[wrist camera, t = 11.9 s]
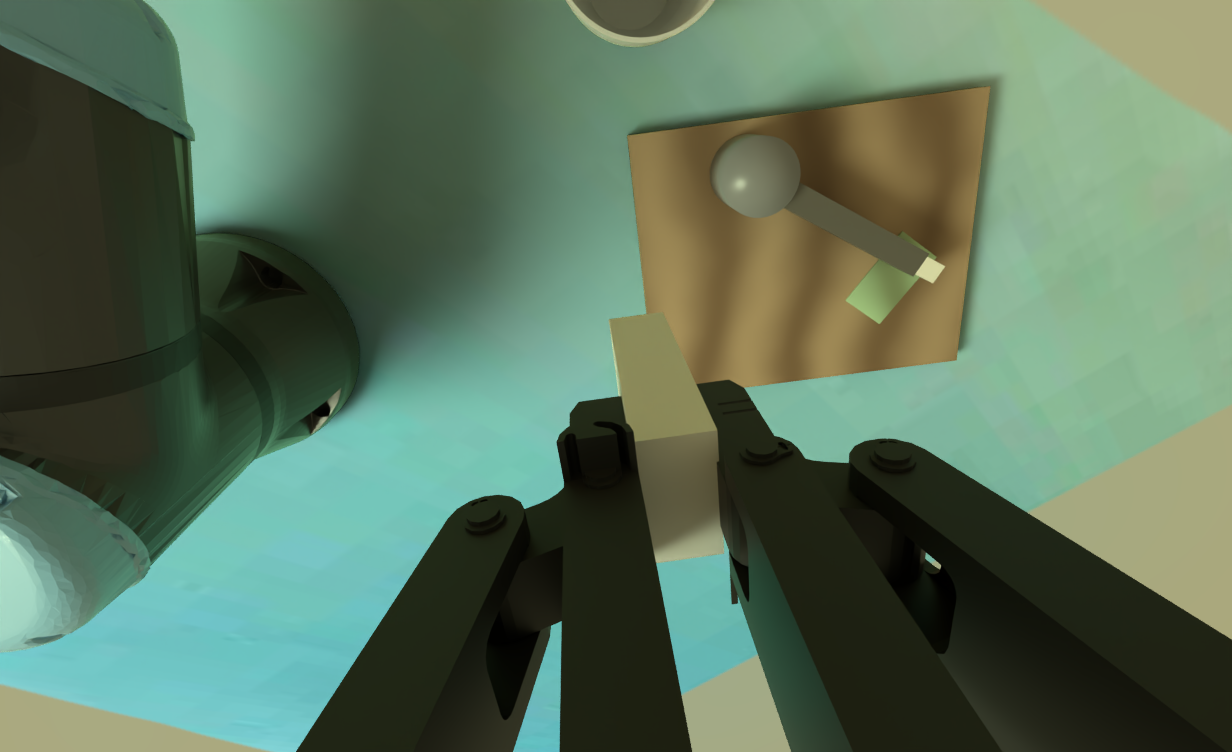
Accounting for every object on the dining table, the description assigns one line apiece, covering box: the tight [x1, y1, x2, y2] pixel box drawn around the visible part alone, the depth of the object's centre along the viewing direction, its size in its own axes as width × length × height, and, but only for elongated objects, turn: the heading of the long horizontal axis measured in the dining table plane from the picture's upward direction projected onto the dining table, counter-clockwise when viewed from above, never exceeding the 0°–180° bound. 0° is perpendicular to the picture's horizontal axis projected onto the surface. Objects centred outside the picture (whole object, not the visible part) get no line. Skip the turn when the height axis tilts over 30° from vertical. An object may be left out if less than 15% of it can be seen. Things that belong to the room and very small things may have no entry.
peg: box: [710, 134, 945, 283], centre depth 36 cm, size 16×4×4 cm, turn 64°
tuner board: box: [627, 86, 990, 388], centre depth 39 cm, size 22×18×1 cm
